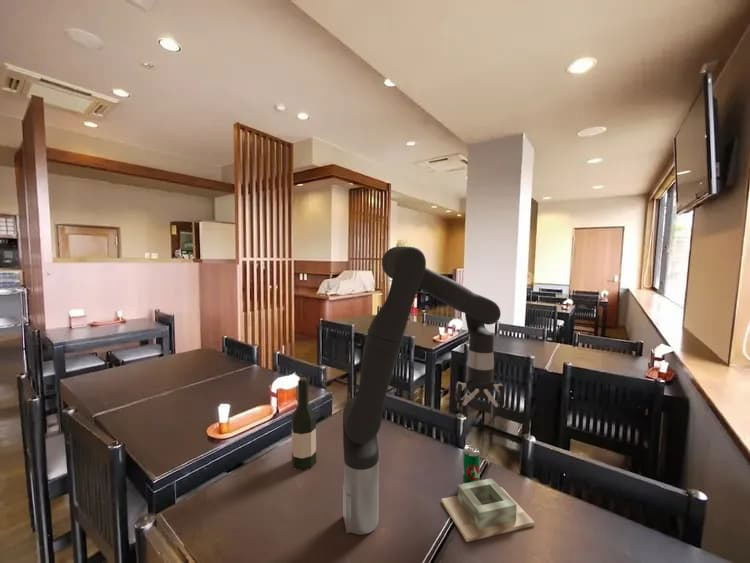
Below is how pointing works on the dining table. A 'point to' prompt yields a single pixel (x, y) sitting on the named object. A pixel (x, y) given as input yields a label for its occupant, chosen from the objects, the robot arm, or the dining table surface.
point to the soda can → (471, 464)
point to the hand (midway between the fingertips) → (478, 416)
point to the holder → (485, 510)
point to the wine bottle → (303, 430)
